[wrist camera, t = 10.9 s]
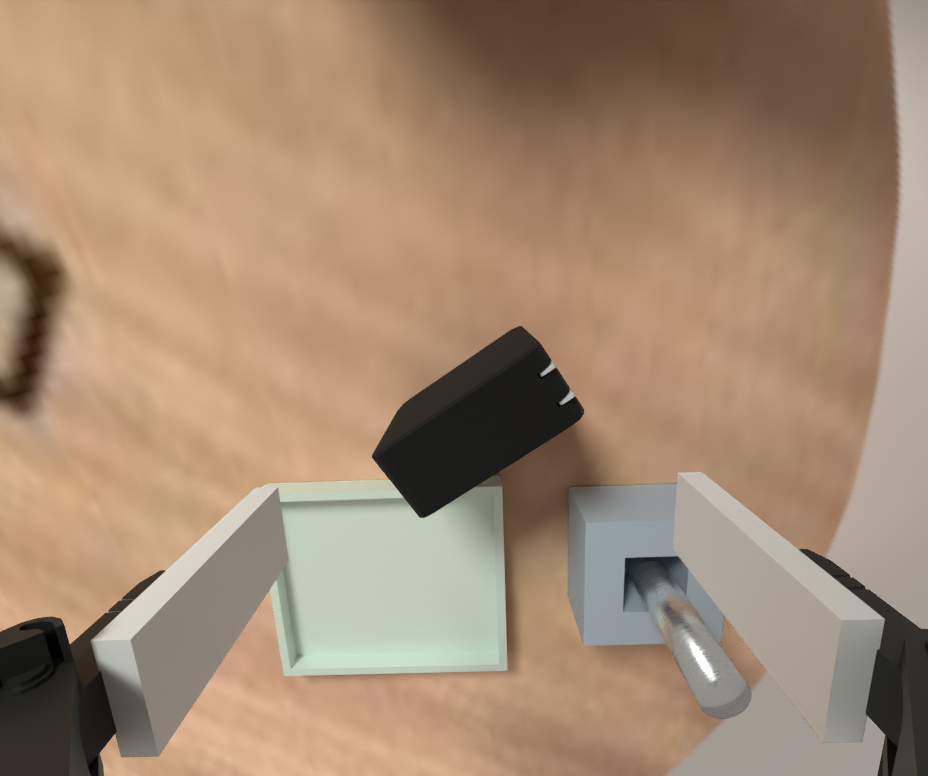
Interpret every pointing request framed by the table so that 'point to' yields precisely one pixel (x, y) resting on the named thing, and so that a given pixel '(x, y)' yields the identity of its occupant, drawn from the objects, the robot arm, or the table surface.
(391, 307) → the table surface
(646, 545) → the square hole cube
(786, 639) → the robot arm
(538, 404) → the electronic device
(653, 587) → the cylinder
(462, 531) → the tray
